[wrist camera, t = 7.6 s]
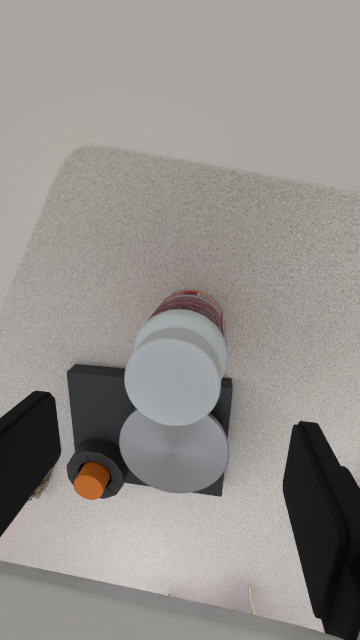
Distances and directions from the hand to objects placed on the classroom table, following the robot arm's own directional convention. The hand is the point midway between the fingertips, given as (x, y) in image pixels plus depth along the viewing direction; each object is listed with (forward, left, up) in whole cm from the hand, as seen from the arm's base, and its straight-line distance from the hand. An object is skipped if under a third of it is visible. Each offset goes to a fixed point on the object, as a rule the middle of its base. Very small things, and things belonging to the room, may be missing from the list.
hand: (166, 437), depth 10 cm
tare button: (-9, -16, -12) cm, 22 cm away
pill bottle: (-1, 0, -15) cm, 15 cm away
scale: (-4, -12, -15) cm, 20 cm away
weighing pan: (-1, -11, -12) cm, 16 cm away
